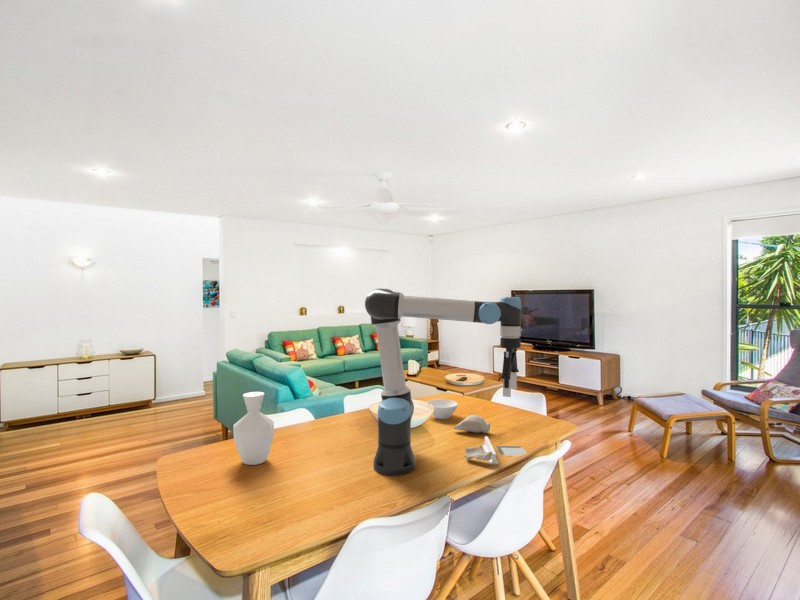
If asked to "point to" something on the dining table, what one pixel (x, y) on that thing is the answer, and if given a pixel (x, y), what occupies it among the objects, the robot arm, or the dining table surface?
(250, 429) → the vase
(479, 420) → the decorative bird
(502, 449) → the rest mat
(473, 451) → the coral
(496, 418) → the dining table surface
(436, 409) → the bowl
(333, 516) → the dining table surface
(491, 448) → the divider wall
